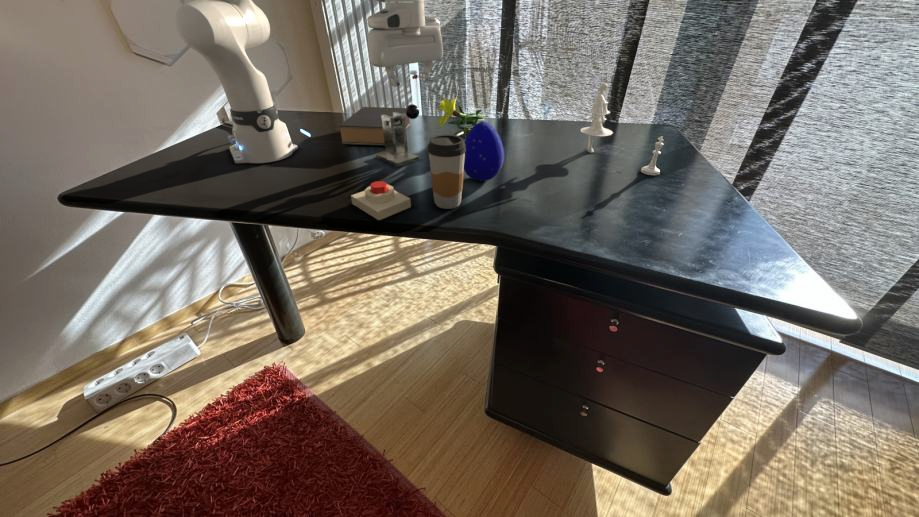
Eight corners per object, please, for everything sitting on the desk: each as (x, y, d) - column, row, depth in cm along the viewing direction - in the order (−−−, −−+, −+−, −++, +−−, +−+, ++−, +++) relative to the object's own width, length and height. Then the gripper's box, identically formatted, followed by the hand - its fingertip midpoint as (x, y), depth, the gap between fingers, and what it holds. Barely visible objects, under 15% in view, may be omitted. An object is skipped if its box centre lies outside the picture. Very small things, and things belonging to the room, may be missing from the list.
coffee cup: (464, 195, 89) (465, 133, 80) (466, 211, 82) (467, 146, 73) (430, 195, 89) (427, 134, 80) (429, 211, 82) (426, 146, 73)
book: (410, 126, 137) (408, 108, 133) (394, 148, 116) (392, 127, 112) (365, 124, 138) (363, 106, 134) (342, 146, 118) (338, 125, 114)
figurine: (612, 159, 109) (630, 87, 97) (579, 157, 110) (594, 86, 98) (603, 145, 120) (619, 79, 108) (574, 143, 121) (586, 78, 109)
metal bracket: (419, 160, 108) (416, 115, 100) (397, 167, 103) (393, 121, 96) (397, 151, 114) (392, 108, 107) (376, 157, 110) (370, 113, 102)
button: (368, 191, 82) (367, 184, 81) (381, 186, 84) (380, 179, 83) (377, 196, 80) (376, 189, 79) (390, 191, 82) (389, 184, 81)
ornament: (506, 176, 98) (510, 120, 89) (493, 189, 91) (497, 129, 83) (469, 169, 102) (470, 114, 93) (454, 181, 95) (454, 123, 87)
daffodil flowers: (508, 135, 131) (489, 137, 99) (473, 154, 136) (444, 161, 105) (488, 91, 128) (462, 78, 96) (453, 112, 133) (418, 106, 102)
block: (352, 203, 85) (349, 188, 82) (383, 192, 90) (381, 177, 88) (378, 220, 78) (376, 204, 76) (411, 207, 84) (409, 191, 81)
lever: (423, 115, 95) (419, 101, 94) (413, 118, 93) (408, 103, 92) (398, 127, 105) (394, 115, 104) (388, 130, 103) (383, 117, 102)
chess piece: (648, 176, 99) (660, 139, 93) (636, 169, 103) (647, 134, 97) (663, 174, 100) (676, 138, 94) (651, 167, 104) (663, 132, 98)
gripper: (430, 16, 90) (433, 76, 98) (360, 18, 79) (369, 87, 87) (448, 16, 87) (449, 79, 95) (376, 19, 75) (385, 91, 83)
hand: (410, 83), depth 91 cm, fingers open, 8 cm apart
